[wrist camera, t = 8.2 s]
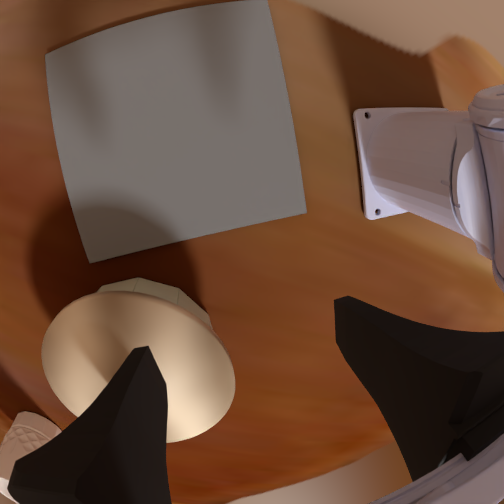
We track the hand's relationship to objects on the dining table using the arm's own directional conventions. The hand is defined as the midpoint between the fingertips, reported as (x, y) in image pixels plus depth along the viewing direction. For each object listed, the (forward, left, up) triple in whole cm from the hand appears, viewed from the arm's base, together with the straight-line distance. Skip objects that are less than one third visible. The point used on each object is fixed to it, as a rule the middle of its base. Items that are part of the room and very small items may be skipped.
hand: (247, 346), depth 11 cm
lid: (+8, +5, -6) cm, 11 cm away
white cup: (+26, +16, -11) cm, 32 cm away
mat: (+2, -9, -10) cm, 14 cm away
